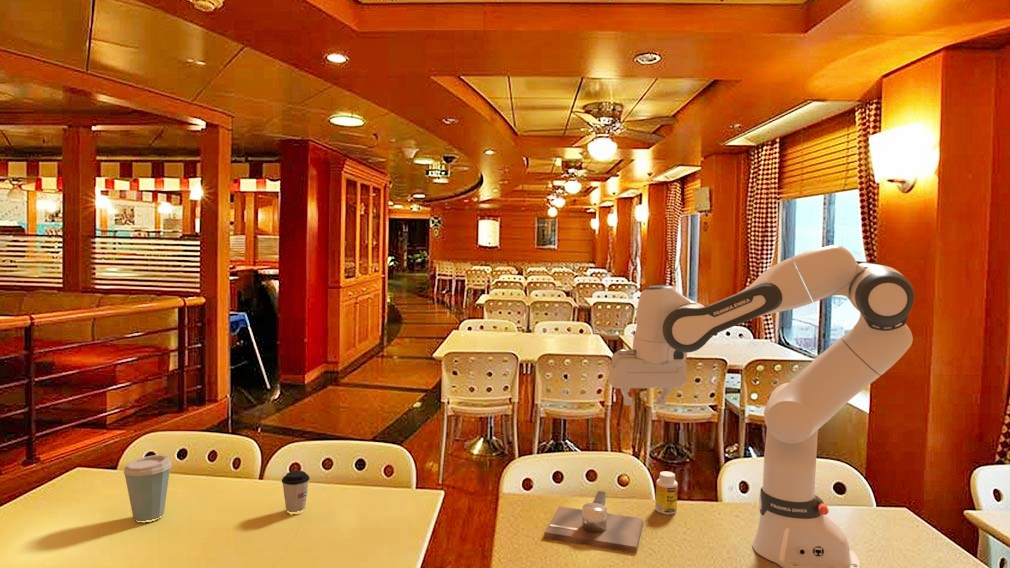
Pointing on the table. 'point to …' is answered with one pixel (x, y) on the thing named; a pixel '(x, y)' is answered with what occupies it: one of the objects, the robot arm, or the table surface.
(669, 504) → the supplement bottle
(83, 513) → the table surface
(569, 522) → the lock base
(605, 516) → the lever handle
